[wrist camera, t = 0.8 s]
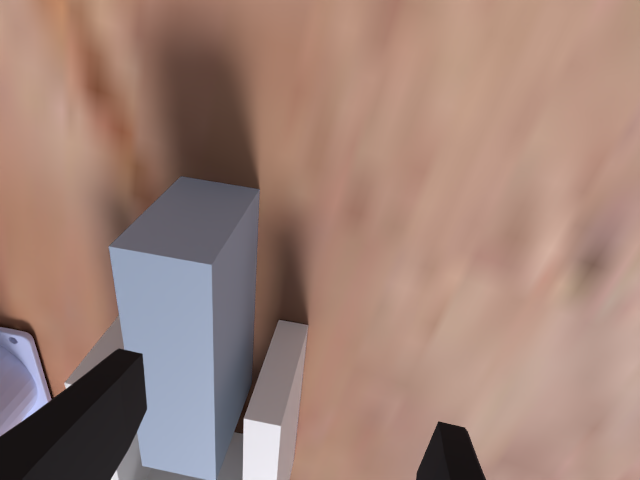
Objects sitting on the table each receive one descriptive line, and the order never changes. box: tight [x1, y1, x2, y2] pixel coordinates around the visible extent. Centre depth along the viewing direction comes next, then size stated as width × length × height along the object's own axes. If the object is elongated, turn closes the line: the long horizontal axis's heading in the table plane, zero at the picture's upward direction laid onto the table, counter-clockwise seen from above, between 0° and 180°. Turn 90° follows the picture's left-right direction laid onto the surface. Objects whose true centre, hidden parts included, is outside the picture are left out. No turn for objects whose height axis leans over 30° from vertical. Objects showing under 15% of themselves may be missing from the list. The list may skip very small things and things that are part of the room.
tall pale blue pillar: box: [109, 176, 260, 480], centre depth 21 cm, size 4×12×6 cm, turn 174°
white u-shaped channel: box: [65, 316, 308, 480], centre depth 24 cm, size 9×11×7 cm
